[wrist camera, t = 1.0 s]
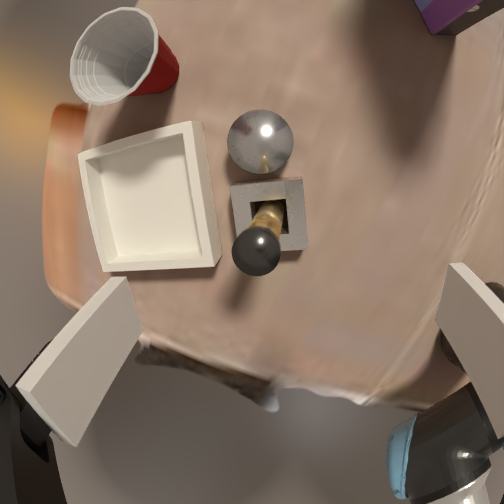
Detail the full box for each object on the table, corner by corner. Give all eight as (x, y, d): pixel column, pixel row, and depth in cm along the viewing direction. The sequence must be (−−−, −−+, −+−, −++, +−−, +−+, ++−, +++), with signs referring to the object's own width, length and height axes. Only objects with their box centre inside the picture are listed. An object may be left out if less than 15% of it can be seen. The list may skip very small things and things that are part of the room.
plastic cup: (131, 124, 33) (71, 122, 22) (121, 57, 30) (65, 37, 19) (205, 99, 31) (163, 79, 20) (192, 28, 28) (151, -10, 17)
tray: (222, 254, 38) (214, 266, 34) (117, 261, 41) (103, 271, 37) (202, 123, 32) (191, 120, 28) (95, 151, 35) (77, 153, 32)
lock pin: (288, 225, 35) (282, 274, 22) (258, 227, 36) (235, 277, 22) (285, 196, 34) (277, 228, 21) (255, 198, 35) (228, 232, 21)
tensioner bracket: (307, 241, 35) (308, 250, 32) (243, 245, 37) (238, 255, 34) (294, 110, 30) (293, 105, 27) (226, 118, 32) (219, 115, 28)
